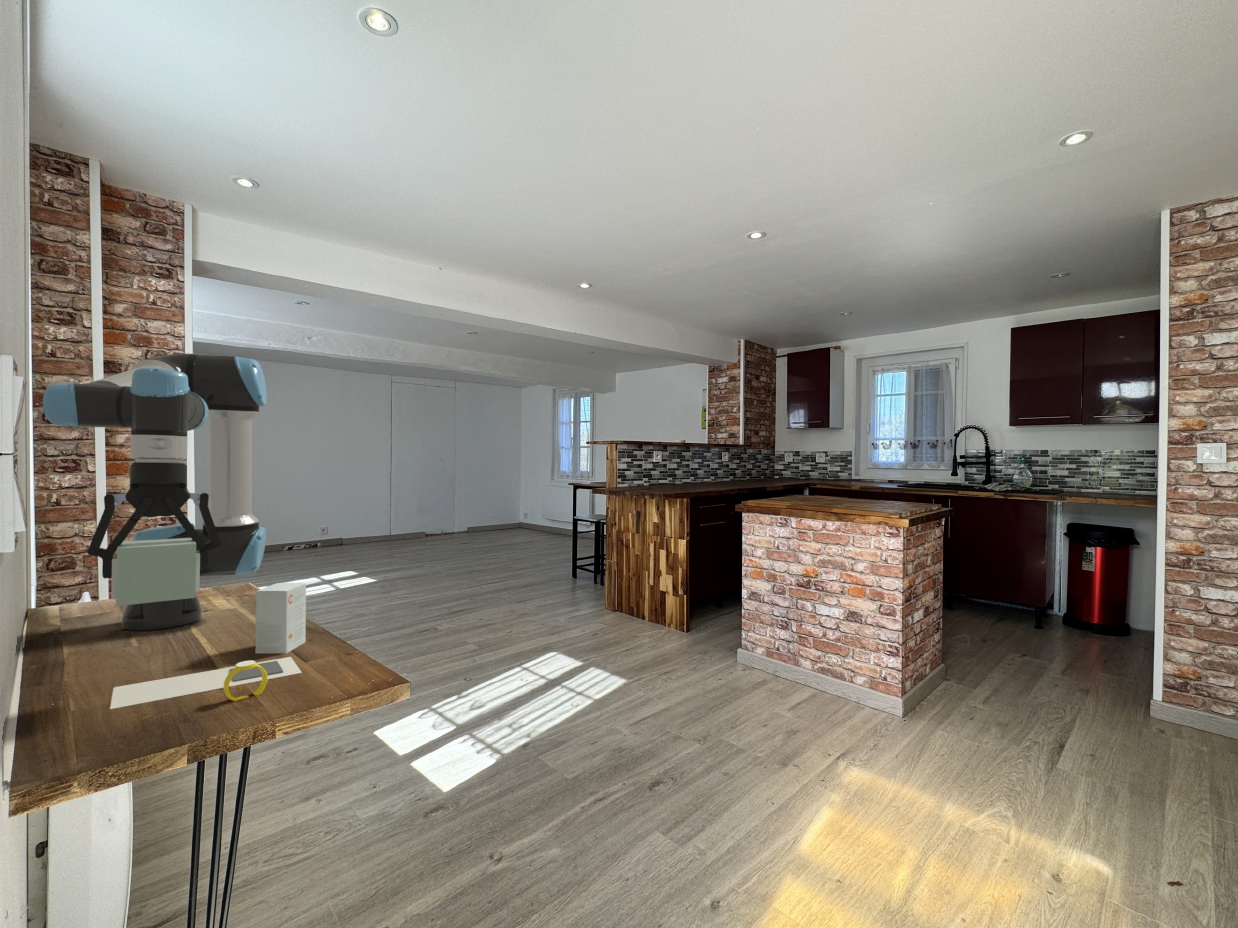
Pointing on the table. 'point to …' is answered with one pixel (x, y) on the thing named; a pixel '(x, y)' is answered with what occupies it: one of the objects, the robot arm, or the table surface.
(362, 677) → the table surface
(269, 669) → the base
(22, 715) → the table surface
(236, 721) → the table surface
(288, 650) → the small box
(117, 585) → the block
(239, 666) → the watch
